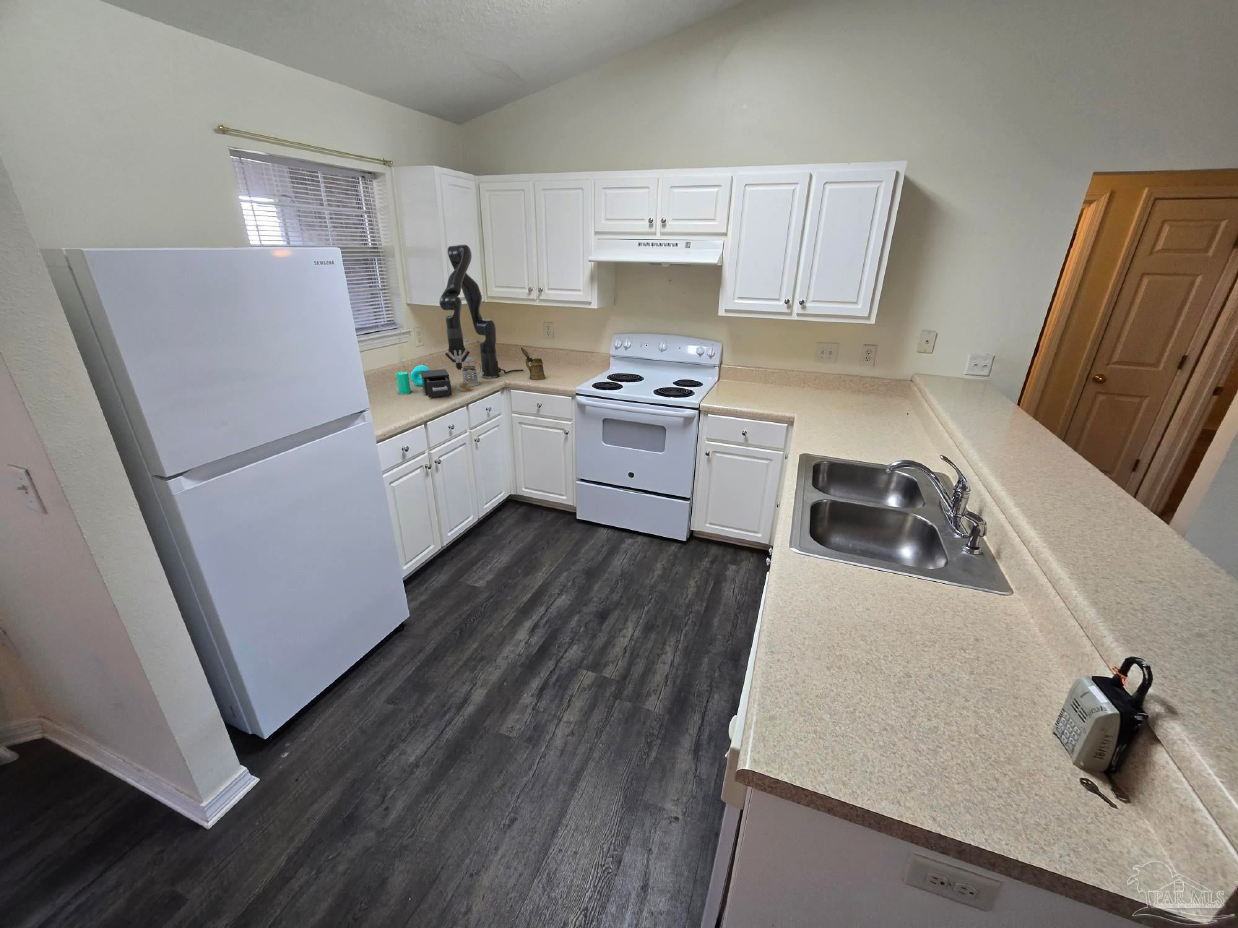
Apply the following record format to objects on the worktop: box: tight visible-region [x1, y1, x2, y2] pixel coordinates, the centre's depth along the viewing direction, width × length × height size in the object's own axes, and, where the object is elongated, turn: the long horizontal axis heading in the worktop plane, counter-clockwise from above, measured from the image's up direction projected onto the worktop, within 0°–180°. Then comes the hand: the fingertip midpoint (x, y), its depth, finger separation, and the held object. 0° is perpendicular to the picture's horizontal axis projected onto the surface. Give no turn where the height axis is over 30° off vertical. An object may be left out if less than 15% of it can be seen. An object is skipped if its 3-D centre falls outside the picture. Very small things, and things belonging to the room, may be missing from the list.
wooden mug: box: [520, 347, 546, 381], centre depth 300 cm, size 9×14×18 cm, turn 84°
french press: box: [461, 338, 482, 387], centre depth 285 cm, size 10×12×25 cm
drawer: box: [426, 377, 453, 399], centre depth 263 cm, size 18×12×8 cm, turn 24°
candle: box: [395, 369, 412, 395], centre depth 269 cm, size 6×6×12 cm
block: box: [459, 380, 471, 393], centre depth 276 cm, size 4×4×4 cm
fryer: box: [420, 368, 451, 396], centre depth 273 cm, size 15×13×10 cm
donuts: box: [410, 364, 431, 387], centre depth 286 cm, size 10×10×10 cm
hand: (459, 369), depth 270 cm, fingers closed
